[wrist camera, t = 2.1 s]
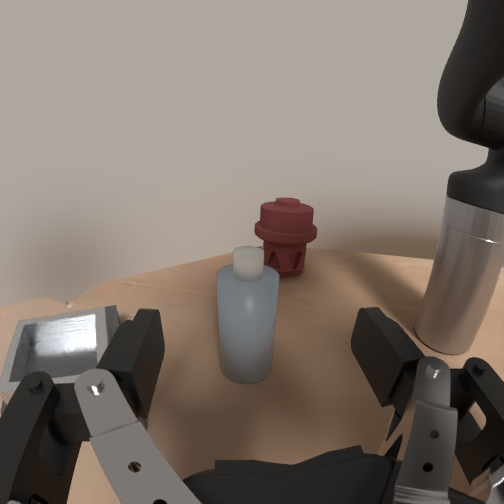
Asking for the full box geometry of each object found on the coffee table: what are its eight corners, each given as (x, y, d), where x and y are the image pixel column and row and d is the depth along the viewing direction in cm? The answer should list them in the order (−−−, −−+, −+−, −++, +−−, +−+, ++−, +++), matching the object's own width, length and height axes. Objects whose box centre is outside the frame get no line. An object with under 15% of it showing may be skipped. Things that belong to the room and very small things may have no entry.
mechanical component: (270, 290, 41) (244, 265, 49) (323, 278, 45) (292, 257, 53) (275, 207, 36) (245, 195, 45) (332, 204, 40) (296, 193, 49)
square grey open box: (122, 331, 29) (112, 287, 27) (147, 428, 17) (127, 381, 15) (36, 345, 24) (19, 302, 22) (24, 442, 12) (-13, 396, 10)
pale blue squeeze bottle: (255, 344, 29) (260, 238, 25) (280, 372, 25) (294, 257, 21) (212, 357, 27) (206, 246, 22) (234, 390, 22) (232, 269, 18)
